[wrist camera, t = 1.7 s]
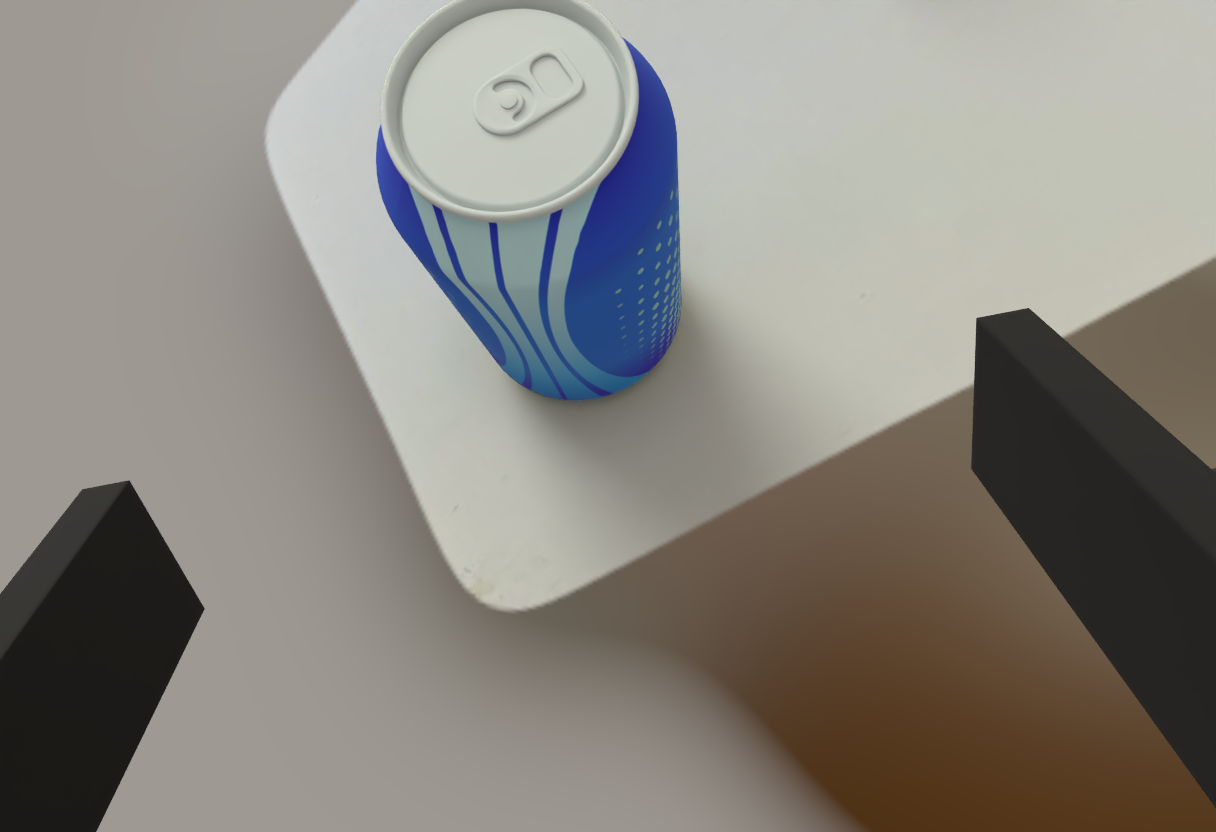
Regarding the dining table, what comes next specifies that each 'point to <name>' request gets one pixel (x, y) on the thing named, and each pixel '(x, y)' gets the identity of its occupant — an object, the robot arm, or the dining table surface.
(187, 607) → the robot arm
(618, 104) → the beer can
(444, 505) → the dining table surface
